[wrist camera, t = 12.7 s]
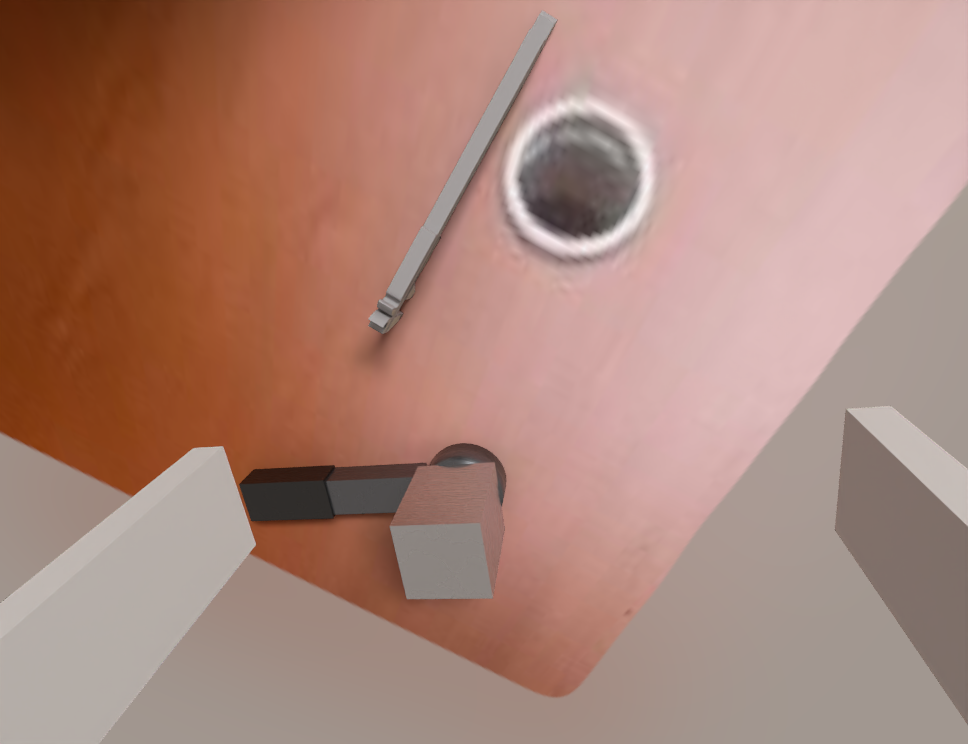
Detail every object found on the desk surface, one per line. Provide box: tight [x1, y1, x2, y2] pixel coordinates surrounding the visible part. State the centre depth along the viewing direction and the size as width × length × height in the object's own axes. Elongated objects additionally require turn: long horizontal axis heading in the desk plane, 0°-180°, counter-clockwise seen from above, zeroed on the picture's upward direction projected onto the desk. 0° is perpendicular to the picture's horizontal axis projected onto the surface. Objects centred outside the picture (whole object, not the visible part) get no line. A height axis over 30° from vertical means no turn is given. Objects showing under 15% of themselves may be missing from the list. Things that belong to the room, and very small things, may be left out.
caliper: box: [368, 10, 557, 334], centre depth 33 cm, size 20×1×6 cm, turn 151°
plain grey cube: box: [390, 462, 505, 599], centre depth 38 cm, size 6×6×7 cm
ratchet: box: [239, 443, 506, 521], centre depth 42 cm, size 6×20×6 cm, turn 98°
